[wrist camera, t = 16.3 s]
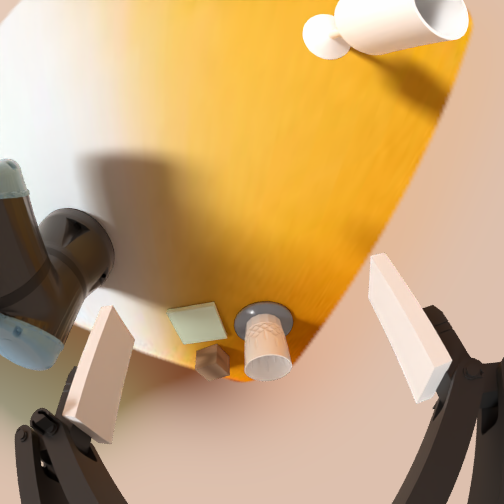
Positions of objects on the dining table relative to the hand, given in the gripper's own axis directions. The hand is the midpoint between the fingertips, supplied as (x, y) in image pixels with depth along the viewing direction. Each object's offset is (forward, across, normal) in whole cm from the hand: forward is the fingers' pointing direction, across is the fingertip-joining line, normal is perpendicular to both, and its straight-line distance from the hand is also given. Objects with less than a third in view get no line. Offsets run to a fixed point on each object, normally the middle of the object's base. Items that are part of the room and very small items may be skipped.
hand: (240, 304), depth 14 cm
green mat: (+29, -14, -29) cm, 43 cm away
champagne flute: (+29, +15, +14) cm, 35 cm away
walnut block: (+29, -14, -39) cm, 50 cm away
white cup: (+28, -2, -32) cm, 43 cm away
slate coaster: (+29, -2, -32) cm, 43 cm away
